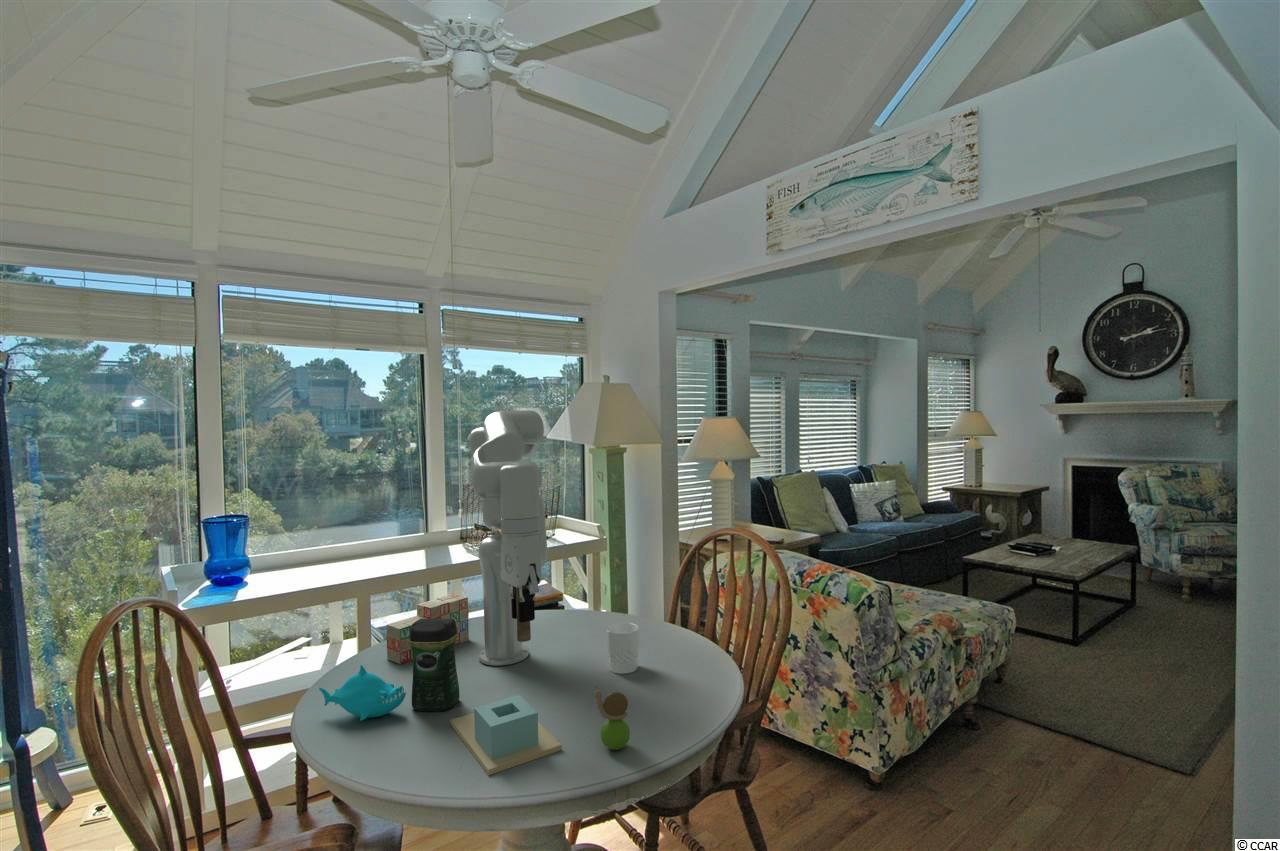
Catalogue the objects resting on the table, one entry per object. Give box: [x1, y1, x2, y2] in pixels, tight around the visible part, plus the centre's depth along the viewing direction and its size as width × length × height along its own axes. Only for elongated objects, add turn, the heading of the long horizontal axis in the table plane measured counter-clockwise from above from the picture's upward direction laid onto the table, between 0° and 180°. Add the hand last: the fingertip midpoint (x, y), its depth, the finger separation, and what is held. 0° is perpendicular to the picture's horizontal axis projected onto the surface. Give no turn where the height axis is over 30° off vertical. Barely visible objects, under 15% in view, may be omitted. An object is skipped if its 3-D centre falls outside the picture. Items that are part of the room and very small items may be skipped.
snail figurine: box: [593, 683, 631, 751], centre depth 115 cm, size 5×6×12 cm
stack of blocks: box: [386, 593, 470, 665], centre depth 168 cm, size 21×6×12 cm, turn 143°
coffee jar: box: [409, 618, 461, 712], centre depth 135 cm, size 10×8×19 cm
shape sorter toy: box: [450, 694, 563, 776], centre depth 120 cm, size 22×14×7 cm, turn 33°
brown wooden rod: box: [516, 582, 532, 643], centre depth 123 cm, size 3×3×14 cm
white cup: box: [605, 622, 640, 675], centre depth 152 cm, size 8×8×10 cm
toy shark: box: [318, 664, 407, 722], centre depth 130 cm, size 10×18×11 cm, turn 90°
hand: (523, 618), depth 123 cm, fingers closed on brown wooden rod, 2 cm apart
